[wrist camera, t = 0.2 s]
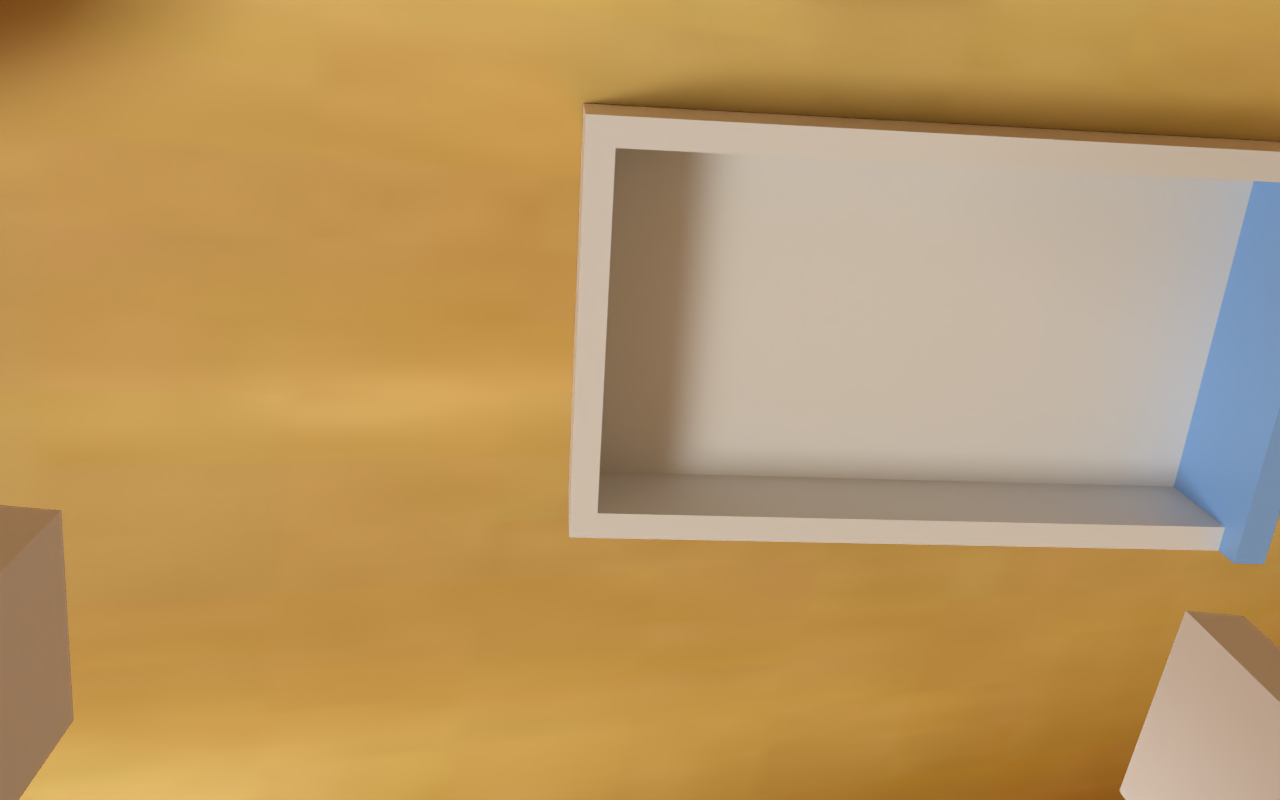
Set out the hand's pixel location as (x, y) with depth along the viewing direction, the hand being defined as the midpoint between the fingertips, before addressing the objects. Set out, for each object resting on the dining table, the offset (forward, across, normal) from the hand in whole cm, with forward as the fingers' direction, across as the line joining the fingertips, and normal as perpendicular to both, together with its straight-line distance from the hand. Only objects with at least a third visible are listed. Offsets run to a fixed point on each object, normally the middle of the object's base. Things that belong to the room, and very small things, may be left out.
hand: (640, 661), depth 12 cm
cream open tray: (+28, +13, -2) cm, 31 cm away
